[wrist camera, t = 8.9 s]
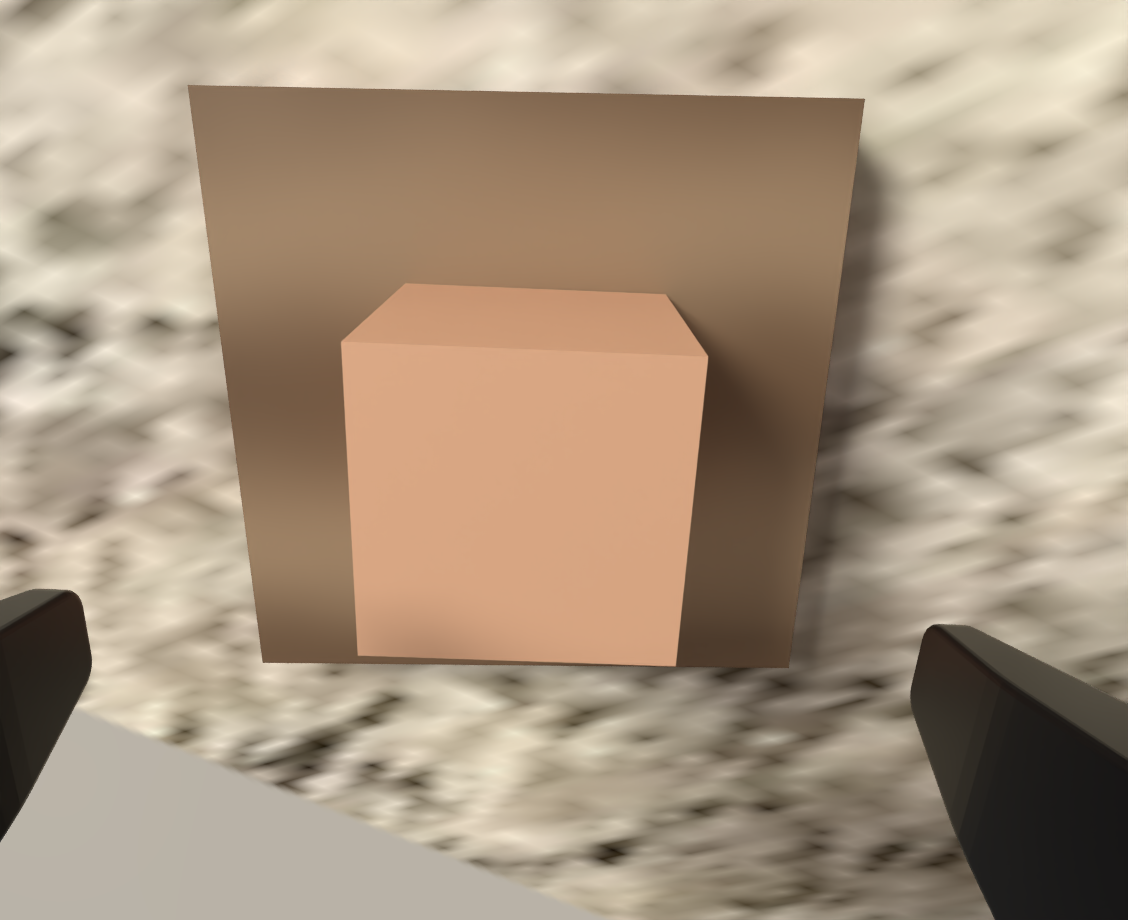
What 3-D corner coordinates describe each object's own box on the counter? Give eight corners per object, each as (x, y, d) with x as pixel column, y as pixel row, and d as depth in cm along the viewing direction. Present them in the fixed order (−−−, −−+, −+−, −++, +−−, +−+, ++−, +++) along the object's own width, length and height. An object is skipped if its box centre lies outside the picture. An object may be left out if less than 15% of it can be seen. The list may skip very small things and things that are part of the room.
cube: (645, 529, 18) (675, 666, 13) (411, 520, 18) (358, 655, 13) (665, 294, 16) (708, 356, 11) (405, 283, 16) (341, 341, 11)
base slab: (759, 600, 22) (788, 668, 19) (300, 595, 22) (263, 662, 19) (816, 105, 18) (864, 98, 15) (246, 94, 18) (187, 85, 15)
